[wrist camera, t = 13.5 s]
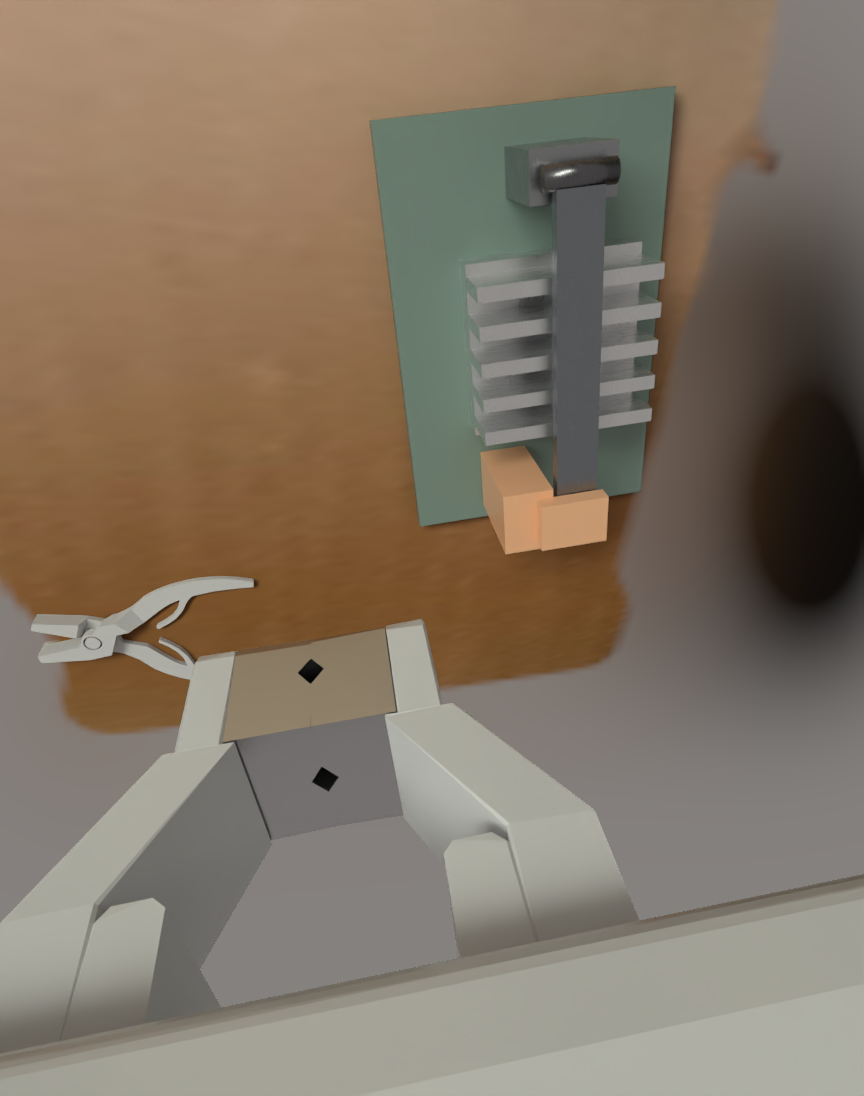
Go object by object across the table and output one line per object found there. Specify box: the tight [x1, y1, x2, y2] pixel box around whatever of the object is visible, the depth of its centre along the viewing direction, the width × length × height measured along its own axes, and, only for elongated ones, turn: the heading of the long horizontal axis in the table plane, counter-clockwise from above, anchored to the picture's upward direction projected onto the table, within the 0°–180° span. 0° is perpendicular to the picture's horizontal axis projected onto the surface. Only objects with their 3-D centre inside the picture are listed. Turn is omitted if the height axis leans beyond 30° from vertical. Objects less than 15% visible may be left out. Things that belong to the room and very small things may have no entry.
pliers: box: [31, 576, 254, 680], centre depth 49 cm, size 10×2×15 cm
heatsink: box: [459, 137, 665, 446], centre depth 38 cm, size 15×10×5 cm, turn 6°
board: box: [370, 86, 675, 526], centre depth 41 cm, size 24×16×1 cm, turn 6°
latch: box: [480, 445, 609, 554], centre depth 43 cm, size 4×6×7 cm, turn 96°
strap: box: [538, 155, 621, 497], centre depth 36 cm, size 19×4×1 cm, turn 6°
